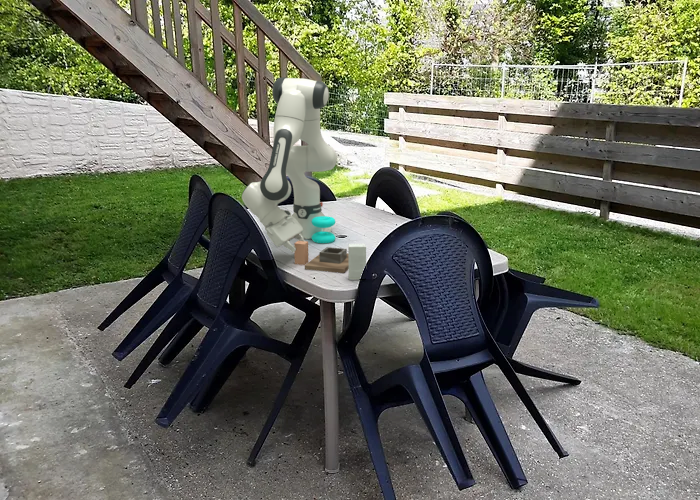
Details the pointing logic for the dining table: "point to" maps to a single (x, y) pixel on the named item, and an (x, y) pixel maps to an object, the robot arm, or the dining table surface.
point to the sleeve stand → (330, 260)
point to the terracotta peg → (301, 252)
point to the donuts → (323, 236)
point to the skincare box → (356, 260)
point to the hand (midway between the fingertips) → (299, 247)
